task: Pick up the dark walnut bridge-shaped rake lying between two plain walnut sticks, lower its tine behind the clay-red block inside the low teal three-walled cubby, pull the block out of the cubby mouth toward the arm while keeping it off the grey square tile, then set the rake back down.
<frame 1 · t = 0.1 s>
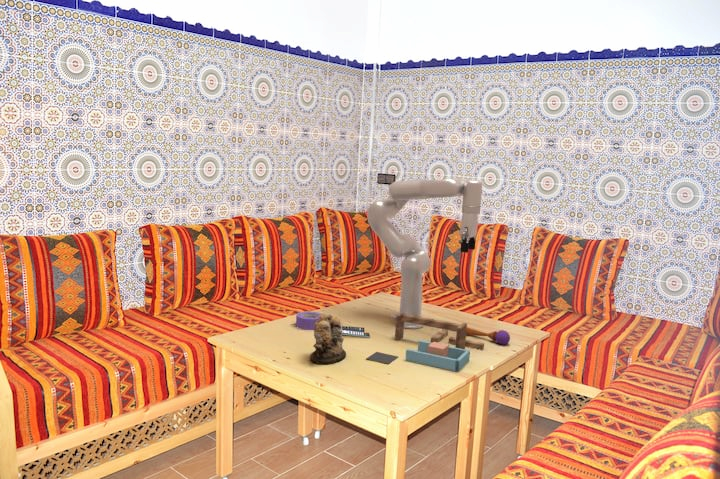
hand: (467, 250, 242), 37 cm above the table, tool pointing down, fingers open, 9 cm apart
crook rake: (428, 344, 232), on the table
plain stick B: (439, 339, 240), on the table
plain stick A: (465, 346, 233), on the table
clay-red block: (437, 360, 215), on the table
grey square tile: (382, 358, 214), on the table
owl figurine: (327, 358, 212), on the table
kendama: (486, 340, 242), on the table
tape roll: (309, 326, 249), on the table
cubby: (442, 361, 214), on the table
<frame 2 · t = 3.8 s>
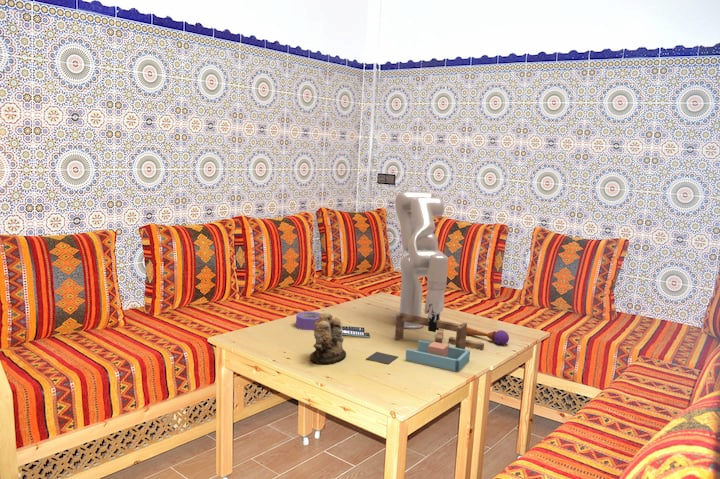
hand: (433, 330, 230), 6 cm above the table, tool pointing down, fingers closed on crook rake, 2 cm apart
crook rake: (428, 344, 232), on the table, touching gripper
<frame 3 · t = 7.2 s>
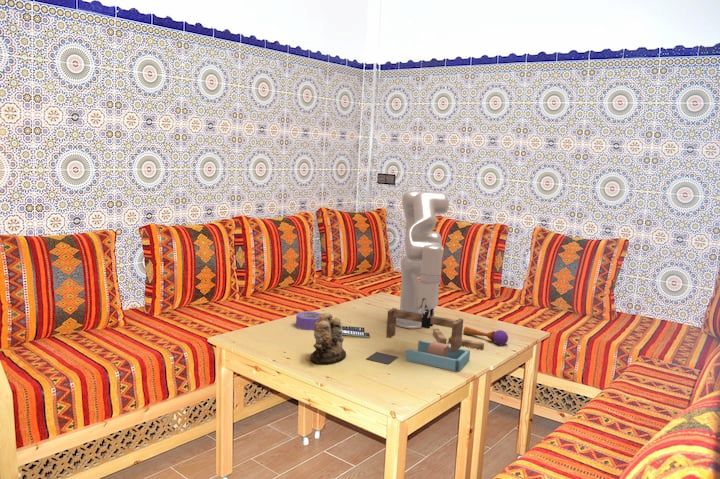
hand: (427, 326, 215), 12 cm above the table, tool pointing down, fingers closed on crook rake, 2 cm apart
crook rake: (422, 342, 216), point 6 cm above the table, touching gripper
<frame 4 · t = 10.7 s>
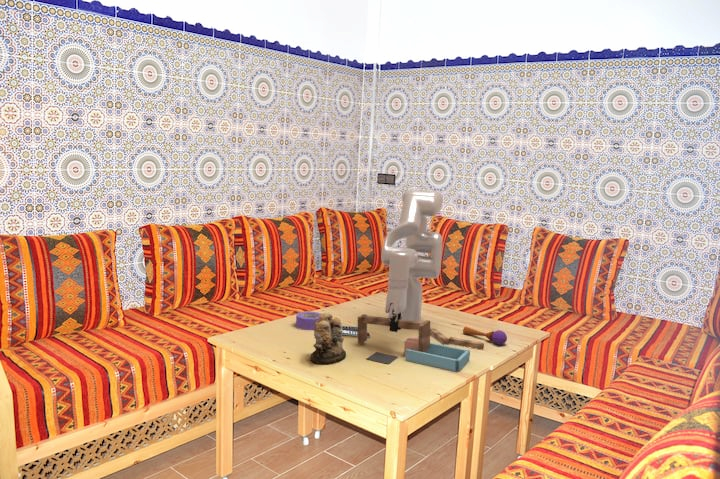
hand: (395, 329, 221), 8 cm above the table, tool pointing down, fingers closed on crook rake, 2 cm apart
crook rake: (392, 345, 223), point 2 cm above the table, touching clay-red block, gripper
clay-red block: (414, 355, 218), on the table, touching crook rake
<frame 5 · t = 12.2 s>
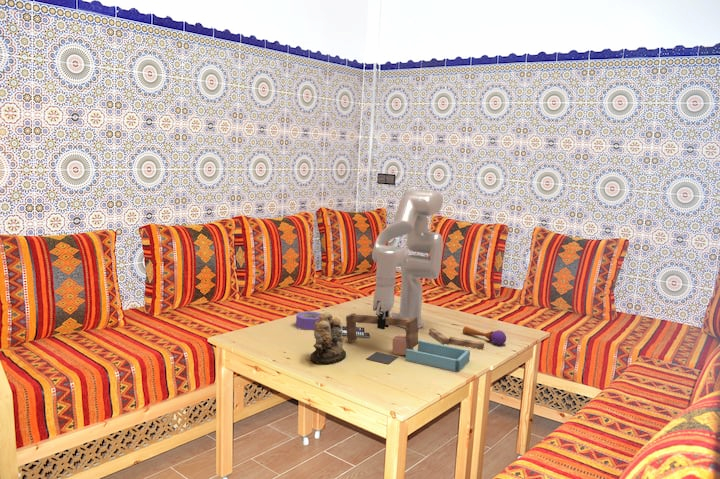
hand: (382, 327, 224), 8 cm above the table, tool pointing down, fingers closed on crook rake, 2 cm apart
crook rake: (381, 343, 225), point 2 cm above the table, tilted 6°, touching clay-red block, gripper
clay-red block: (403, 352, 221), on the table, tilted 6°, touching crook rake
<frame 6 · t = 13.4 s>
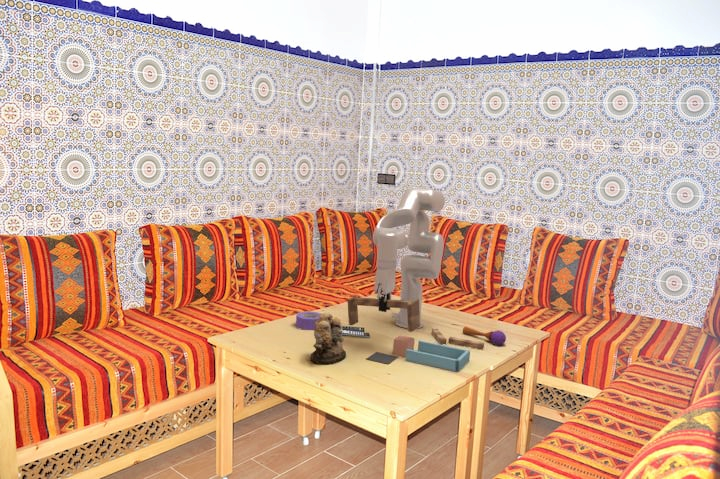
hand: (384, 309, 223), 15 cm above the table, tool pointing down, fingers closed on crook rake, 2 cm apart
crook rake: (383, 326, 225), point 9 cm above the table, tilted 6°, touching gripper
clay-red block: (403, 353, 221), on the table
when the fingers open (8 cm above the table, at t = 18.5 s): crook rake drops 1 cm, on the table.
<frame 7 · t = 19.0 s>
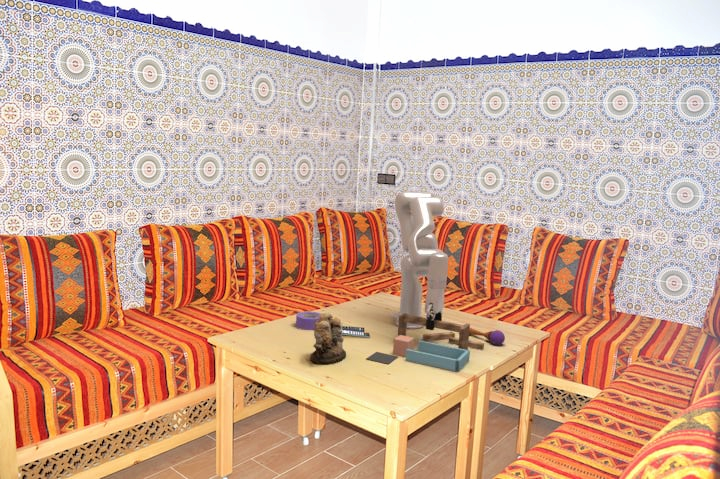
hand: (433, 326, 230), 8 cm above the table, tool pointing down, fingers open, 8 cm apart
crook rake: (431, 345, 231), on the table
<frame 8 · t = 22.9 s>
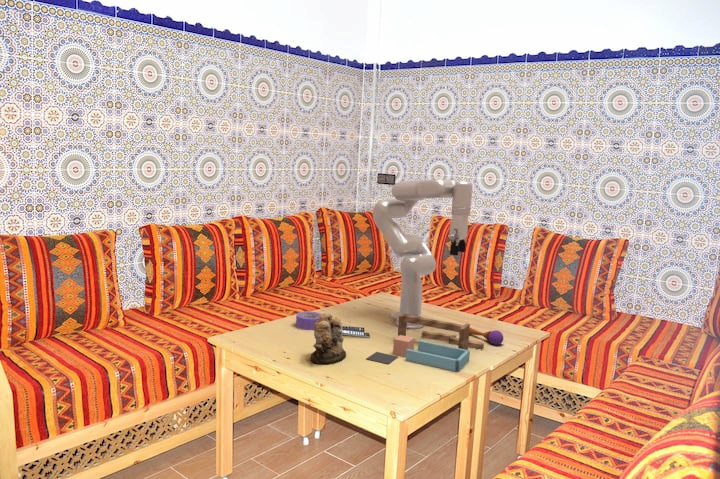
hand: (457, 253, 236), 36 cm above the table, tool pointing down, fingers open, 9 cm apart
at the end: clay-red block inside the target area (3.6 cm from its centre), on the table; clay-red block touching table; crook rake on the table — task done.
